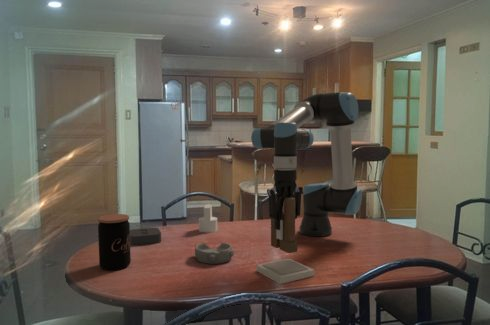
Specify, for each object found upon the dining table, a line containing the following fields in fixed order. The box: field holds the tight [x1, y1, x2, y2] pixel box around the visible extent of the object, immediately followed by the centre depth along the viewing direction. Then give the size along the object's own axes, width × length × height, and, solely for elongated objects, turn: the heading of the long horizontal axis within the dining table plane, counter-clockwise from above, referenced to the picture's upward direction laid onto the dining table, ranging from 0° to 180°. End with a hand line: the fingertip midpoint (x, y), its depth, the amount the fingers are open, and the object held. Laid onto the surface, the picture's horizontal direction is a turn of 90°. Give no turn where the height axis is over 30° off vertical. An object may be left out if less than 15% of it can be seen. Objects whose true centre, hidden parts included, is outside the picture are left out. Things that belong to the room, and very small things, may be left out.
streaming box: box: [130, 227, 162, 246], centre depth 178 cm, size 13×13×4 cm
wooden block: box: [270, 197, 298, 254], centre depth 137 cm, size 4×11×18 cm, turn 30°
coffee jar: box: [97, 213, 132, 272], centre depth 145 cm, size 11×11×18 cm
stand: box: [256, 258, 315, 285], centre depth 138 cm, size 14×14×2 cm
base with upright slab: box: [198, 204, 219, 233], centre depth 195 cm, size 9×9×12 cm
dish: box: [194, 242, 235, 265], centre depth 153 cm, size 14×14×5 cm
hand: (284, 237), depth 137 cm, fingers closed on wooden block, 4 cm apart
